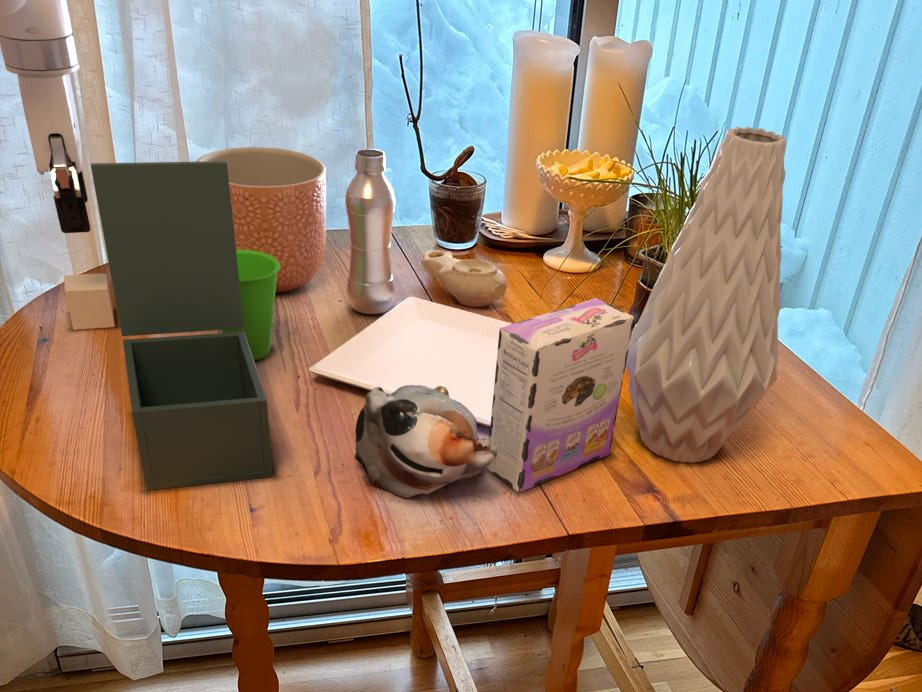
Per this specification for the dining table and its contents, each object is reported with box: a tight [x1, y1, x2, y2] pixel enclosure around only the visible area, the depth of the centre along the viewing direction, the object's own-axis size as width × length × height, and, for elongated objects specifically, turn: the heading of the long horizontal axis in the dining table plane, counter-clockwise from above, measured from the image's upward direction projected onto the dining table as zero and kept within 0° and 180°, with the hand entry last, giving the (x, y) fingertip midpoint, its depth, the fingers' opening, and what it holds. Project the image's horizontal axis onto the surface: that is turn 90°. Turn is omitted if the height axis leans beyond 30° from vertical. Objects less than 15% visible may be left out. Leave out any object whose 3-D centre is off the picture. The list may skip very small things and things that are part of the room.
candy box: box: [485, 297, 635, 493], centre depth 99 cm, size 14×6×16 cm, turn 130°
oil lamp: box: [421, 249, 508, 308], centre depth 135 cm, size 11×14×5 cm
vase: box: [625, 126, 787, 464], centre depth 99 cm, size 17×17×33 cm
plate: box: [308, 296, 513, 428], centre depth 119 cm, size 26×26×2 cm
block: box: [63, 273, 116, 331], centre depth 121 cm, size 5×5×5 cm
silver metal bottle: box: [344, 148, 396, 315], centre depth 124 cm, size 6×7×20 cm
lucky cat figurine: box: [354, 385, 498, 499], centre depth 96 cm, size 15×12×14 cm
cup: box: [221, 250, 280, 361], centre depth 115 cm, size 9×9×11 cm
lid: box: [90, 161, 244, 337], centre depth 98 cm, size 16×13×5 cm
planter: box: [195, 146, 327, 294], centre depth 131 cm, size 17×17×15 cm
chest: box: [122, 332, 274, 491], centre depth 99 cm, size 16×13×9 cm
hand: (75, 216), depth 114 cm, fingers open, 9 cm apart
